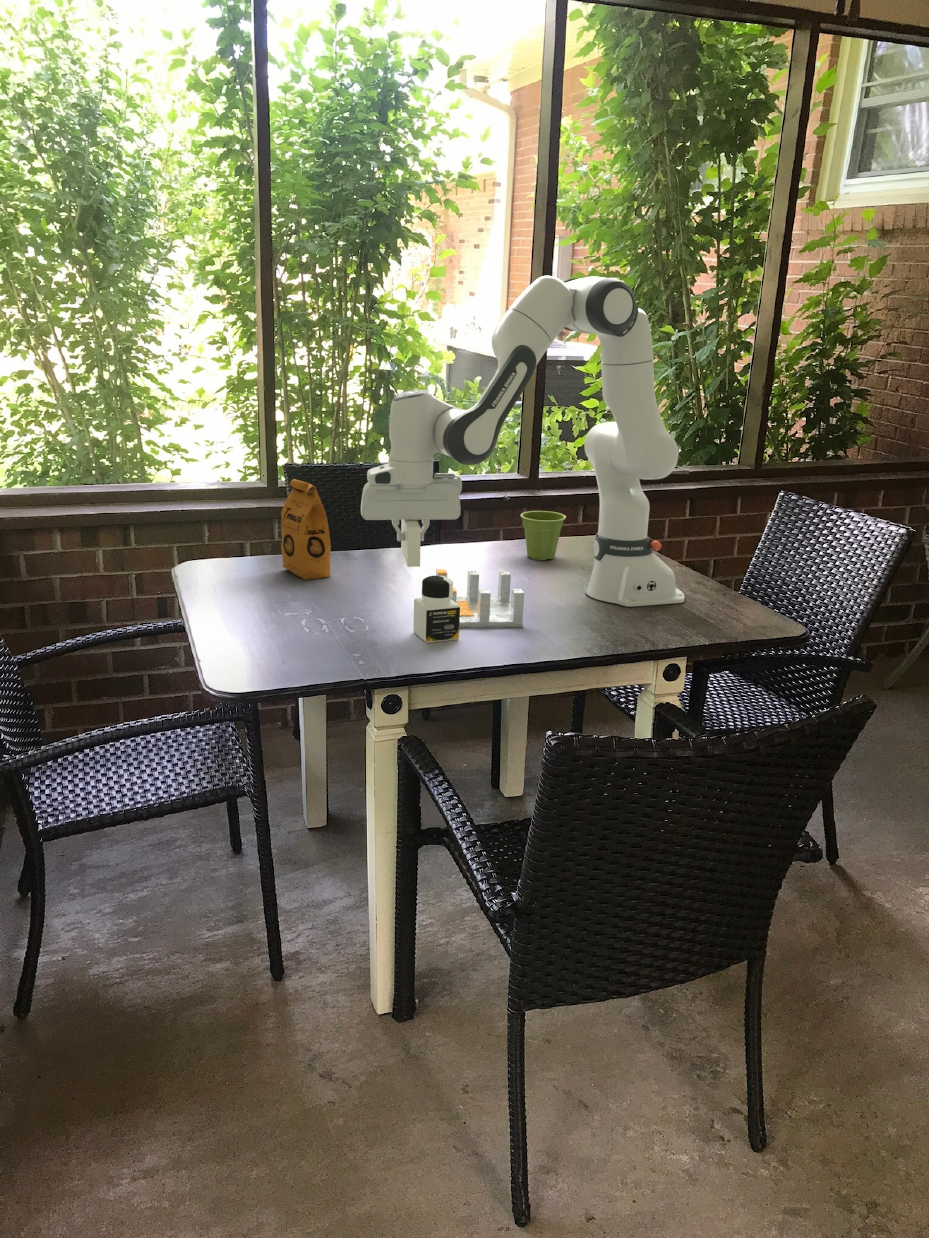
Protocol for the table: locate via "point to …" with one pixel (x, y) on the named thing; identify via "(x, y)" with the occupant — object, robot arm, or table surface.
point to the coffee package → (305, 533)
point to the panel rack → (489, 603)
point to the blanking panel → (411, 542)
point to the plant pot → (542, 533)
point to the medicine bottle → (436, 611)
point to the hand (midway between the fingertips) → (410, 540)
